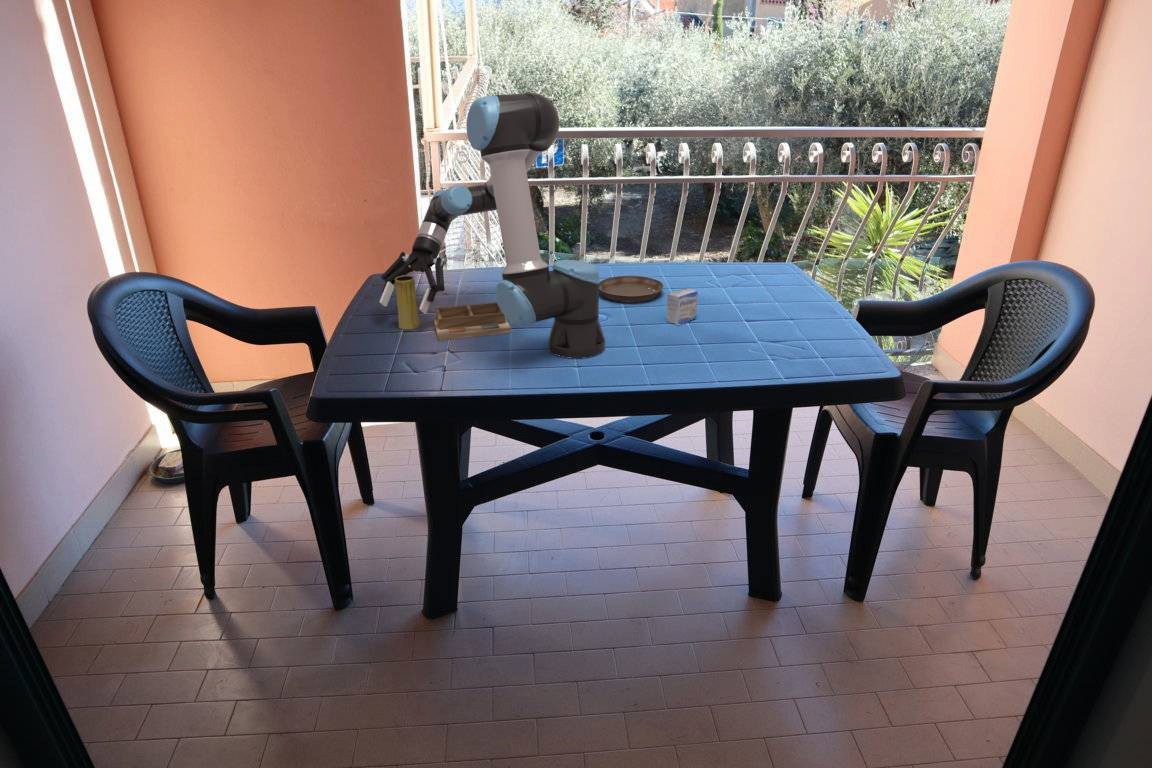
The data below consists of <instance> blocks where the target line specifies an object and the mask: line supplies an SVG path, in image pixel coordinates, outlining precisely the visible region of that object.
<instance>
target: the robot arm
mask: <svg viewBox="0 0 1152 768" xmlns="http://www.w3.org/2000/svg"><path fill="white" fill-rule="evenodd" d="M559 130H560V117H559V113H558V111H557V109H556V107H555V105H554V103H553V102H551V101H550V99H548V98H547V97H545V96H544V95H542V94H539V93H536V92H535V93H534V92H525V93H524V92H523V93H510V94H506V93H505V94H491V95H487V96H482V97H480V96H479V97H478V98H476V99H475V100H474V101H473V102H472V103H471V104H470V107H469V109H468V113H467V118H466V135H467V139H468V143H470V147H472V149H474V150H476V151H478V152H479V153H480V158H481V160H483V162H485V163H487V165H488V167H489V171H490V175H489V178H488V180H487V181H486V182H485V183H484V184H478V185H471V186H464V185H461V184H454V185H452V186H450V187H448V188H447V189H445V190H443V189H441V190H437V191H435V192H434V194H433V196H432V198H431V199H430V201H429V205H428V208H427V211H426V213H425V215H424V218H423V220H422V223H421V225H420V227H419V229H418V232H417V235H416V236H417V237H416V238H414V242H413V244H412V247H411V248H412V249H411V253H410V254H407V253H405V252H404V251H401V253H400V254H399V256H398V258H397V259H396V260H395V261H394V262H393V263H392V264H391V265H390V266H389V267H388V269H386V270H385V272H384V273H383V274H382V275H381V276H380V278H381V279H382V280H383V281H384V282H385V283H384V285H383V287H382V290H381V292H382V295H381V297H380V299H379V303H380V304H381V305H382V306H383V307H387V306H388V304H389V302H390V300H391V296H392V294H393V292H394V289H395V288H396V285H395V278H396V277H398V276H403V275H408V274H409V273H413V272H420V273H424V274H425V276H426V280H427V282H428V285H429V287H427V288H426V291H425V293H424V295H423V298H422V301H421V302H420V303H421V304H420V306H419V308H418V310H420V311H421V312H422V313H423V314H425V315H426V314H427V311H428V310H429V308H430V305H431V303H433V302H434V299H435V297H436V295H437V293H438V292H444V291H445V289H446V288H445V279H444V278H445V277H444V265H445V261H444V260H443V259H442V258H441V257H440V256H439V254H440V251H441V249H442V246H443V244H444V241H445V240H446V239H445V238H446V236H447V233H448V231H449V229H450V226H451V225H452V221H454V220H455V219H457V218H458V217H460V216H467V215H473V214H479V213H485V212H492V211H493V212H495V211H496V213H497V218H498V224H499V229H500V235H501V240H502V246H503V252H504V257H505V263H506V265H505V267H504V269H503V270H502V271H501V276H502V279H501V280H500V281H499V282H498V283H497V284H496V290H495V296H496V302H498V304H499V307H500V309H501V311H502V313H503V314H504V316H505V317H506V319H507V321H508V322H509V323H511V324H513V325H515V326H525V325H532V324H534V323H538V322H541V321H545V320H549V319H553V322H552V327H551V328H550V329H551V330H550V333H549V336H548V339H547V342H548V343H547V344H548V345H547V348H549V349H548V351H549V350H550V351H551V352H552V353H551V352H550V351H549V352H550V353H551V354H553V353H554V354H553V355H555V354H557V355H560V356H559V357H561V356H564V357H563V358H565V357H571V358H570V359H584V358H583V357H587V358H591V357H590V356H592V357H595V356H598V355H600V354H601V353H603V352H604V351H605V349H606V338H605V334H604V331H603V329H602V326H601V323H600V320H599V319H600V314H599V313H600V308H599V306H600V303H599V302H600V301H599V300H600V295H599V294H600V290H599V284H600V275H599V270H598V267H597V266H595V265H594V264H592V263H589V262H586V261H581V260H574V259H561V260H557V261H555V262H553V264H552V267H551V268H552V270H550V267H549V264H548V263H546V262H545V261H544V260H543V259H542V256H541V251H540V245H539V238H538V233H537V226H536V222H535V221H536V220H535V214H534V209H533V203H532V202H533V201H532V197H531V191H530V185H529V178H528V171H529V169H530V168H531V167H532V166H533V164H535V161H536V160H537V158H539V156H540V155H541V154H542V152H545V151H548V150H549V149H550V148H551V147H552V145H553V144H554V142H555V140H556V139H557V136H558V133H559ZM433 266H435V277H434V274H433V270H432V267H433ZM603 350H604V351H603ZM602 351H603V352H602ZM599 353H600V354H599ZM597 354H598V355H597ZM557 355H556V356H557ZM594 355H595V356H594Z"/></svg>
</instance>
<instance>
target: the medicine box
mask: <svg viewBox="0 0 1152 768" xmlns="http://www.w3.org/2000/svg"><path fill="white" fill-rule="evenodd" d="M698 292H699V291H697V290H695V289H692V288H690V287H689V288H688V287H686V288H684V289H680V290H675V291H673V292H669V293H667V308H666V311H667V312H666V322H667V321H670V322H672V323H675V324H681V323H683V322H687V321H689V322H691V321H690V320H692V319H695V320H697V313H698V311H697V310H698V309H697V308H698ZM692 321H693V320H692ZM670 322H669V323H670ZM672 323H671V324H672ZM687 323H688V322H687ZM675 324H674V325H675ZM681 325H682V324H681Z"/></svg>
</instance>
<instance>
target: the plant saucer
mask: <svg viewBox="0 0 1152 768" xmlns="http://www.w3.org/2000/svg"><path fill="white" fill-rule="evenodd" d="M599 282H600V284H599V293H601V294H602V295H603V296H604V297H605V298H607V299H609V300H611V301H614V300H615V302H619V301H620V303H642V301H643V302H646V300H647V301H650V300H652V299H654V298H655V297H657V296H658V295H659V294H660V293H661V292H662V290H663V289H664V287H665V286H664V283H663V282H661V281H660V280H658V279H655V278H652V277H648V276H639V275H620V276H619V275H617V276H612V277H608V278H605V279H602V280H601V281H600V280H599ZM648 288H650V289H648ZM653 290H655V291H653Z"/></svg>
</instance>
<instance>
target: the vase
mask: <svg viewBox="0 0 1152 768" xmlns="http://www.w3.org/2000/svg"><path fill="white" fill-rule="evenodd" d="M394 285H395V292H396V304H397V305H396V306H397V314H398V315H397V317H398V328H399V329H401V330H406V331H407V330H408V331H409V330H415V329H418V328H419V327H421V322H420V317H419V308H418V302H417V295H416V294H417V292H416V283H415V277H414V276H413V275H408V274H407V275H403V276H398V277H396V278H395V283H394Z"/></svg>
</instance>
